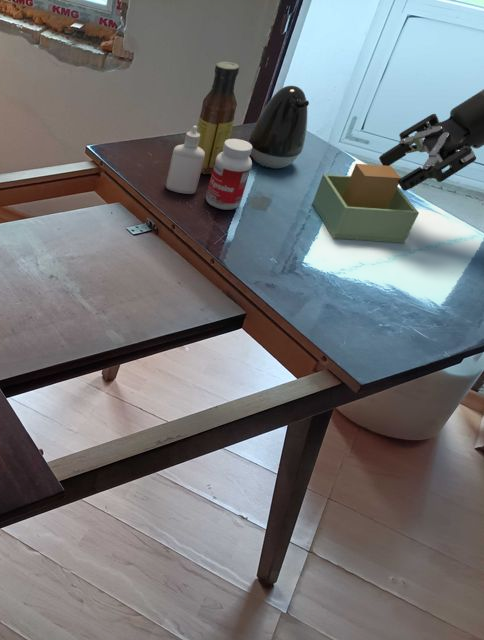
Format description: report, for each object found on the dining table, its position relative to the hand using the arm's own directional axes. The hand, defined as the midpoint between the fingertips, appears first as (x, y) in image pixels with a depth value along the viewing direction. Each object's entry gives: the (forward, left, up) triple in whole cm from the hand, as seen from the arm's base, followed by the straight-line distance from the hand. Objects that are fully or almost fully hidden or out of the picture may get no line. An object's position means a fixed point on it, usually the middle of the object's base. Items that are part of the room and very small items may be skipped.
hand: (390, 174), depth 114 cm
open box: (+2, 0, -9) cm, 10 cm away
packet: (+2, 0, -9) cm, 9 cm away
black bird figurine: (+12, -22, -10) cm, 27 cm away
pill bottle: (+25, -4, -10) cm, 27 cm away
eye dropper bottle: (+32, -8, -10) cm, 35 cm away
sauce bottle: (+26, -17, -10) cm, 33 cm away
